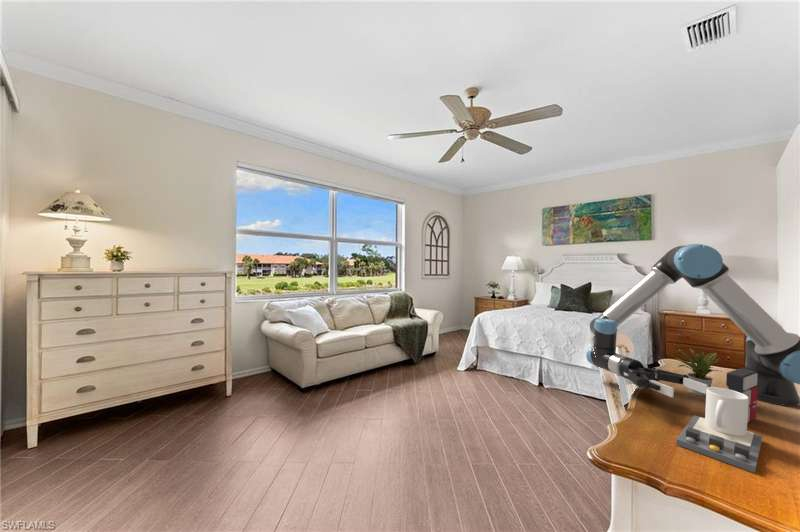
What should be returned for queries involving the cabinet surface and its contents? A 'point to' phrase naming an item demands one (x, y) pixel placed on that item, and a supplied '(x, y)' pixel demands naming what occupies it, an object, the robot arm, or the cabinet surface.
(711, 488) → the cabinet surface
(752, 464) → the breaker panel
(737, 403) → the mug
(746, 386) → the dark grey box
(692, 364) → the house plant
